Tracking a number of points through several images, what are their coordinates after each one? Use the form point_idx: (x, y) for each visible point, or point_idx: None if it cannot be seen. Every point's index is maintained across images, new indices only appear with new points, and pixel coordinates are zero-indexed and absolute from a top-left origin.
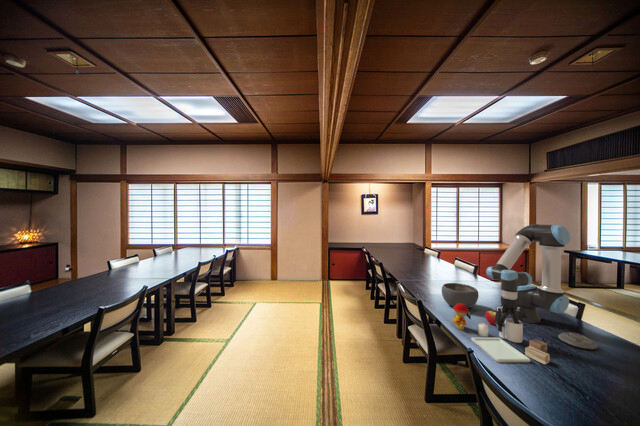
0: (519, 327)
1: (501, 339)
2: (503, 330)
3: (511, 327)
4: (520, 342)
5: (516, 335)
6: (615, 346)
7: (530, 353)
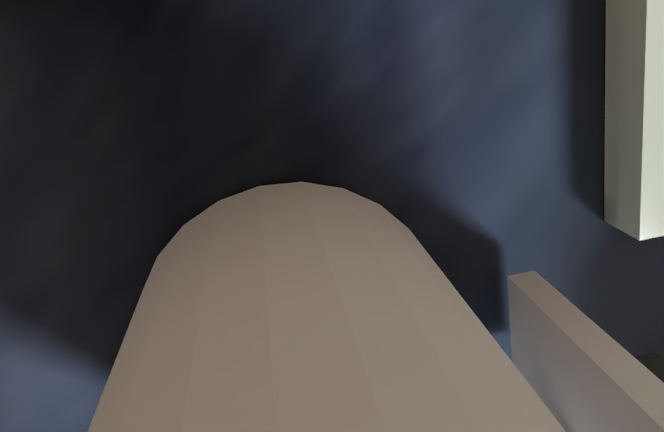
0: (283, 406)
1: (651, 163)
2: (625, 373)
3: (544, 415)
4: (232, 196)
5: (347, 240)
6: None
7: None
